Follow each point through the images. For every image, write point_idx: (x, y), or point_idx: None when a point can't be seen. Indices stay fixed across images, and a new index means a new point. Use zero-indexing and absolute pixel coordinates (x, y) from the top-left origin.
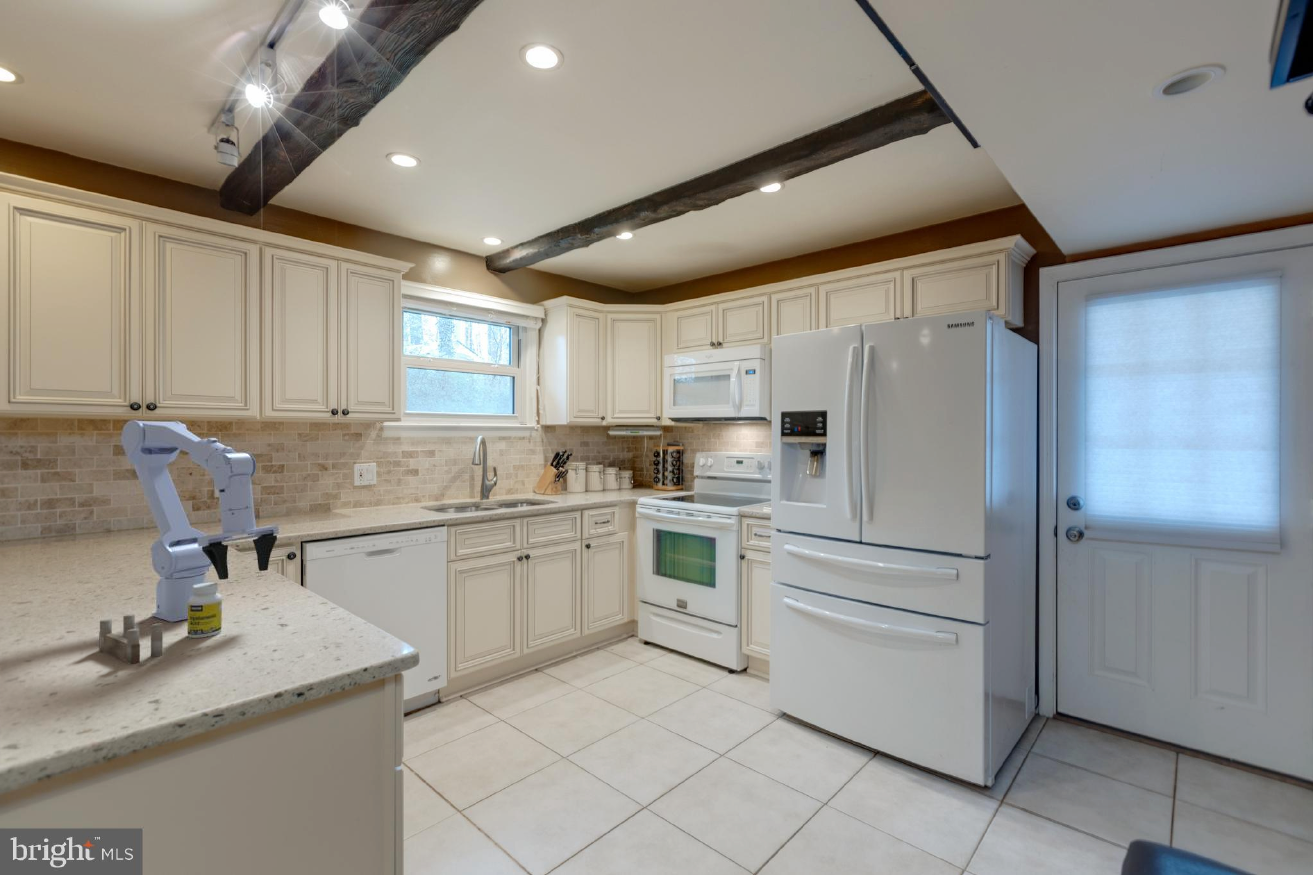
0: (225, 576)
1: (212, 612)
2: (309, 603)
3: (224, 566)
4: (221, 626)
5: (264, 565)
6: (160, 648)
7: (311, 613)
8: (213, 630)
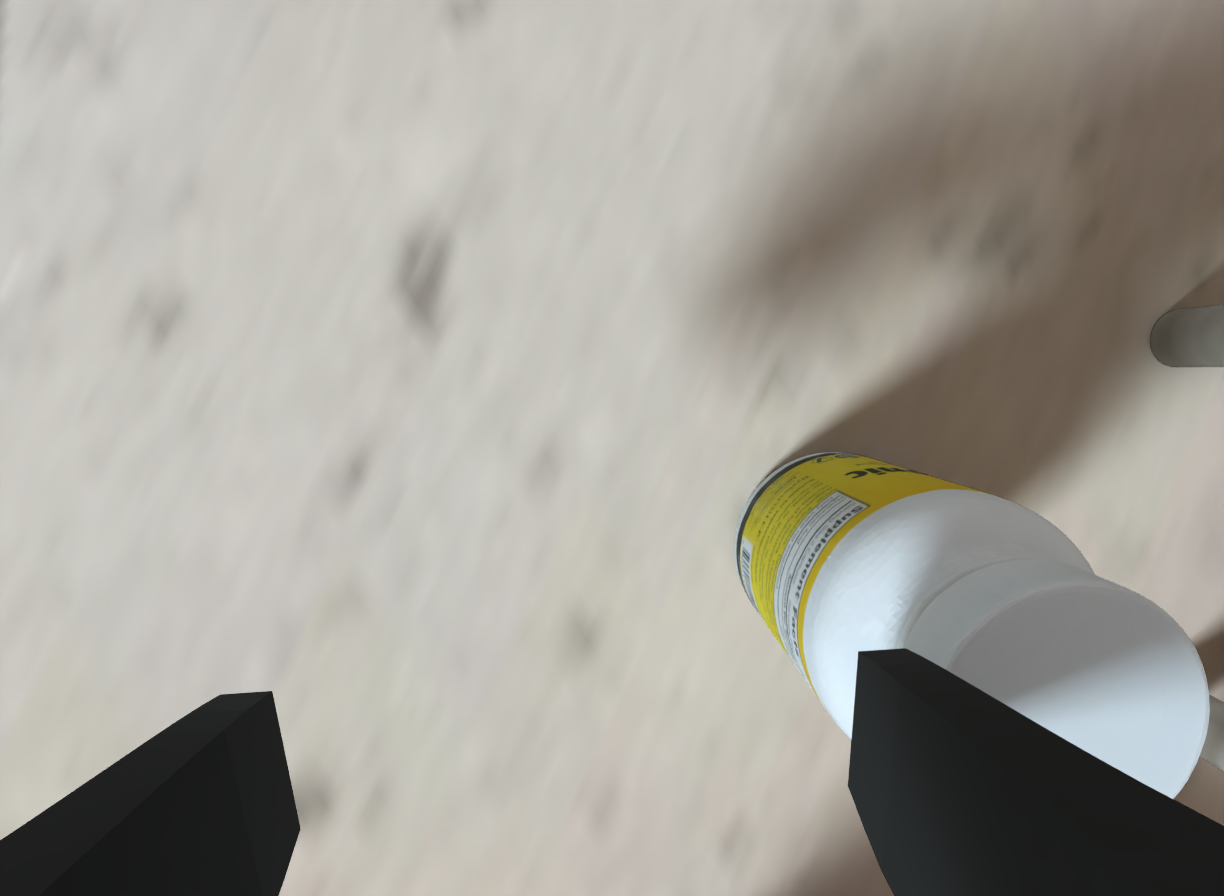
0: (923, 660)
1: (899, 475)
2: (27, 673)
3: (1072, 767)
4: (746, 516)
5: (219, 748)
6: (1213, 307)
7: (147, 390)
8: (828, 453)
